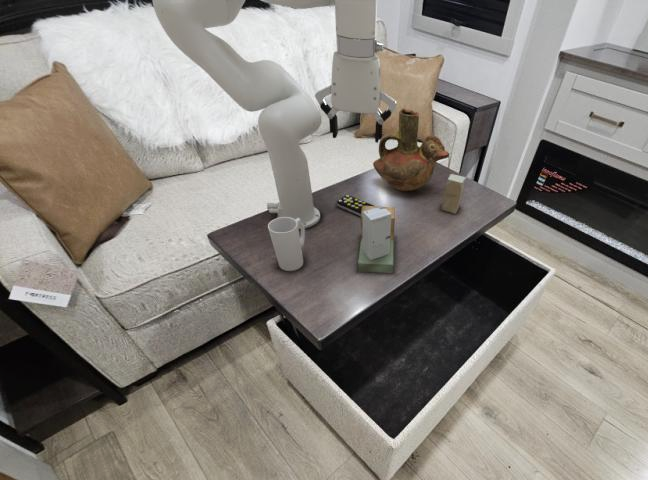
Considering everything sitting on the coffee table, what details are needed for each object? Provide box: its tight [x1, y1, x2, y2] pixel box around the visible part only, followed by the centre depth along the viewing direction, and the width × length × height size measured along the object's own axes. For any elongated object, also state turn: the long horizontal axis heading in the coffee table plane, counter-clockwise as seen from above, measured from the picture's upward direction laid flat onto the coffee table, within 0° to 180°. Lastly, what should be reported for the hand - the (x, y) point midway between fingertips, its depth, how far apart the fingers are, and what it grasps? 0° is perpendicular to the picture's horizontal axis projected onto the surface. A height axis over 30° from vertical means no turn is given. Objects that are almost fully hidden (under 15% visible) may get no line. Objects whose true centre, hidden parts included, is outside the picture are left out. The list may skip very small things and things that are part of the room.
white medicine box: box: [362, 205, 391, 260], centre depth 84 cm, size 6×4×12 cm
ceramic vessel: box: [372, 107, 451, 192], centre depth 112 cm, size 17×26×25 cm, turn 77°
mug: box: [267, 217, 306, 272], centre depth 85 cm, size 10×7×12 cm, turn 151°
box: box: [441, 173, 467, 215], centre depth 108 cm, size 5×4×11 cm
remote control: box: [336, 194, 375, 217], centre depth 108 cm, size 6×13×2 cm, turn 57°
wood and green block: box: [357, 205, 396, 274], centre depth 90 cm, size 9×16×10 cm, turn 0°
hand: (356, 138), depth 77 cm, fingers open, 9 cm apart
